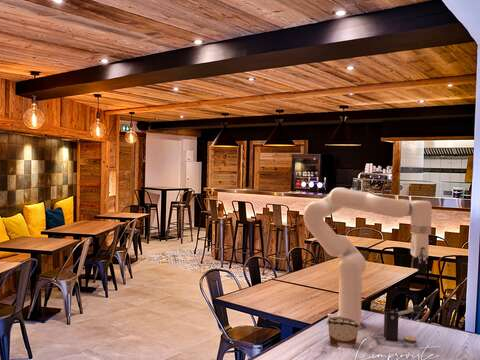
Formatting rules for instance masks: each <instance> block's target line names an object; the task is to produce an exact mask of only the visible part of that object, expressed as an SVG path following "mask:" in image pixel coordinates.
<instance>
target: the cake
mask: <svg viewBox="0 0 480 360" xmlns="http://www.w3.org/2000/svg"><path fill="white" fill-rule="evenodd" d="M402 339H403V340H402V341H404V342H405V343H408V344H416V343H417V337H416V336H413V335H407V334H406V335H403V338H402Z"/></svg>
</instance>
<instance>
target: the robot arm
mask: <svg viewBox="0 0 480 360" xmlns="http://www.w3.org/2000/svg"><path fill="white" fill-rule="evenodd" d="M432 207H433V206H432V202H431V201H430V200H420V199H419V200H417V199H416V200H410V199H404V198H399V199H396V198H390V197H384V196H379V195H376V194H373V193H371V192H368V191H362V190H356V189H351V188H346V187H340V186H339V187H334V188H333V189H331V191H330V192H329V193H328V195H326V196H325V197H322V198H321V199H320V200H312V201H311V202H309V203H308V204H307V205H306V206H305V208H304V211H303V222H304V225H305V227H306V229H307V230H308V231H309V232H310V234H311V235H312V236H313V237H314V238H315V240H316V241H317V242H318V243H319V245H320V246H321V247H322V248H323V249H324V252H326V253H327V254H328V255H329V256H331V257H333V258H338V260H339V263H338V268H337V271H338V311H337V312H336V313H327V318H328V319H329V318H332V317H344V318H349V319H353V320H355V321H357V322H358V323H359V325H361V324H362V295H363V294H362V293H363V291H362V290H363V284H362V283H363V282H362V280H363V279H362V273H363V271H364V270H365V269H366V267H367V261H366V258H365V257H364V256H363V254H362V253H361V252H360V251H359V250H358V249H357V247H356V246H355V245H354V244H353V243H352V242H351V240H350V239H349V238H348V237H346V236H345V235H342V234H337V233H336V232H335V231H334V230H333V229H332V227H331V226H330V225H329V224H328V223H327V222H326V221H325V220H324V218H327V217H329V216H330V215H332V214H334V213H336V212H337V211H340V210H341V209H343V208H347V209H352V210H357V211H362V212H366V213H371V214H376V215H382V216H386V217H387V216H388V217H392V218H404V217H410V229H409V230H410V232H409V233H410V234H411V240H410V251H409V253H410V255H411V256H412V269H417V273H419V274H427V273H428V258H429V246H430V245H429V240H430V239H429V235H431V234H432Z"/></svg>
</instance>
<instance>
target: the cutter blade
mask: <svg viewBox="0 0 480 360" xmlns="http://www.w3.org/2000/svg"><path fill="white" fill-rule="evenodd" d="M422 310H423V308H422V306H421V305H419V304H415V305H413V306H412V307H411V308H409V309H405V310H400V311H397V312H396V313H399V314H398V316H401V315H406V314H409V313H415V314H420V313H421V312H422ZM391 312H394V311H391Z"/></svg>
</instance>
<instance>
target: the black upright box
mask: <svg viewBox="0 0 480 360" xmlns="http://www.w3.org/2000/svg"><path fill="white" fill-rule="evenodd" d="M391 311H394V312H391ZM383 312H384V314H383V337H384V339H385V341H389V342H396V343H397V342H399V315H398V314H399V313H396V312H398V311H397V310H396V309H389V308H384V311H383Z"/></svg>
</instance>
